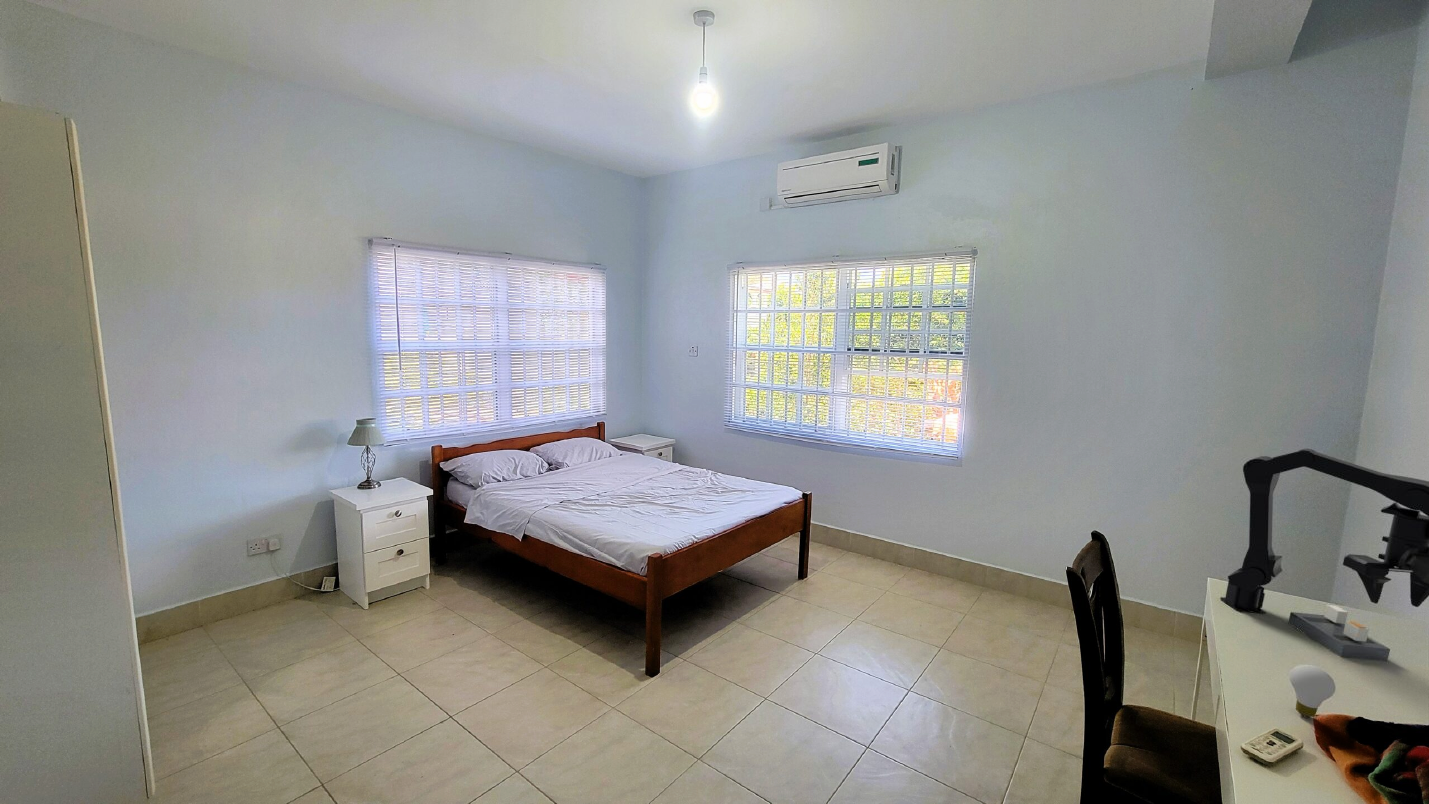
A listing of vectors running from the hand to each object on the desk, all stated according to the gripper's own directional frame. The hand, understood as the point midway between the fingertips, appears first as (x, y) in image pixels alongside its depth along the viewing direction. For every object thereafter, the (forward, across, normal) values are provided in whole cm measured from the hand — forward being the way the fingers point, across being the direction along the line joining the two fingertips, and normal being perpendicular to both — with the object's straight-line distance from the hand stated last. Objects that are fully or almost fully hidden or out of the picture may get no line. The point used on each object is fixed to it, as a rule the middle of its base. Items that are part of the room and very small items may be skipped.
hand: (1394, 604), depth 127 cm
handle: (+9, -4, +8) cm, 12 cm away
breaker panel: (+12, -6, +4) cm, 14 cm away
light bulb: (+12, -37, -27) cm, 47 cm away
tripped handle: (+9, -6, 0) cm, 11 cm away
